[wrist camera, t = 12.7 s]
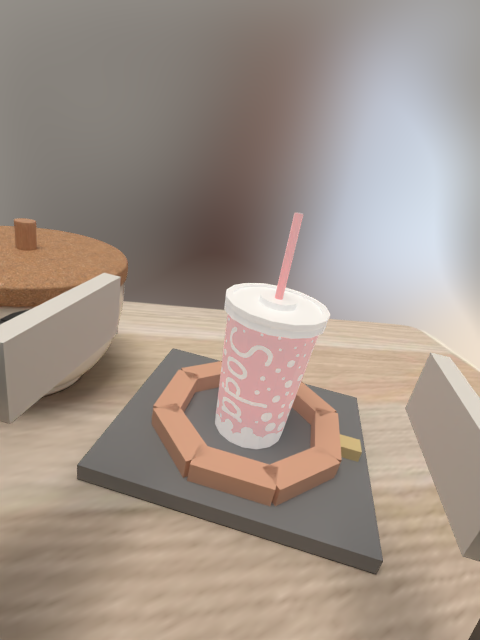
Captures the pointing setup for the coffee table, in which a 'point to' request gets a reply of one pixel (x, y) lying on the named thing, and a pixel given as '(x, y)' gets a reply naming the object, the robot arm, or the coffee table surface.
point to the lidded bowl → (52, 273)
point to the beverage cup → (265, 354)
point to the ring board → (244, 464)
